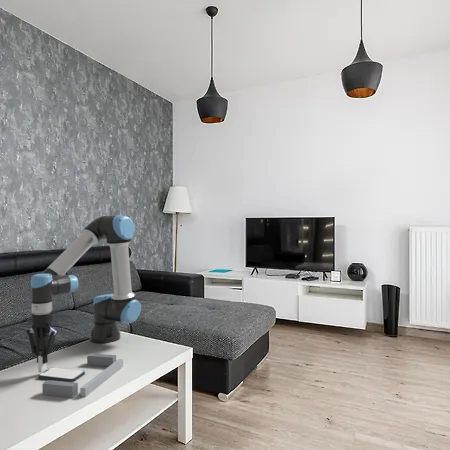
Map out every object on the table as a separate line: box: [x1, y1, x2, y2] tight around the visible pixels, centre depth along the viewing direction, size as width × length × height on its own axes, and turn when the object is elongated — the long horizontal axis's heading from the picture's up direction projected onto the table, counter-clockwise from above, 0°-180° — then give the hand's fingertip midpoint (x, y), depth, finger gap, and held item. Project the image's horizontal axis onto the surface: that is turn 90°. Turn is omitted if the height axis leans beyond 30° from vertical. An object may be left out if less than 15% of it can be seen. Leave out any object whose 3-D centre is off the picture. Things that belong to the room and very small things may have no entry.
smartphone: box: [37, 367, 86, 382], centre depth 148 cm, size 9×2×16 cm
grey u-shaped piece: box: [42, 353, 124, 399], centre depth 146 cm, size 31×16×4 cm, turn 168°
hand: (42, 371), depth 150 cm, fingers closed
